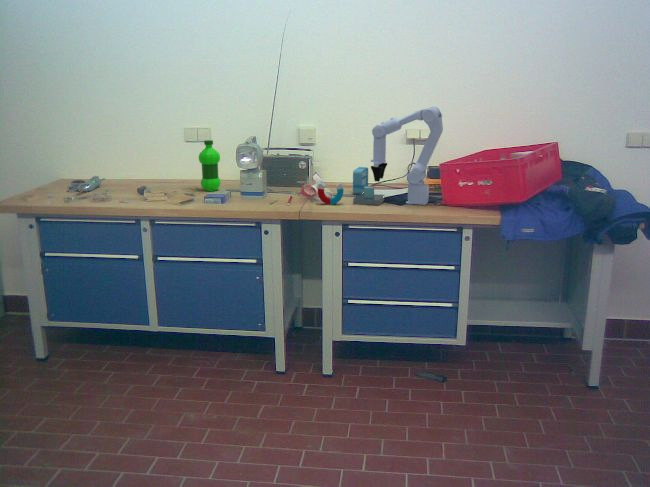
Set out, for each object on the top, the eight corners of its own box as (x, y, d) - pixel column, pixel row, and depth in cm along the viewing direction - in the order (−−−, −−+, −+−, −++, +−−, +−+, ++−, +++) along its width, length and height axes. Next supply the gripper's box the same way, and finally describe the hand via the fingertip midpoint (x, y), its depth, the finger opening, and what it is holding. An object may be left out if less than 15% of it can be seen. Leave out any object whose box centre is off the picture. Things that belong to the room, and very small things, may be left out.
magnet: (343, 203, 301) (343, 182, 298) (343, 205, 298) (343, 183, 295) (318, 203, 301) (318, 182, 299) (317, 204, 299) (317, 183, 296)
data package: (361, 195, 318) (361, 170, 315) (352, 194, 320) (352, 170, 316) (368, 190, 329) (368, 166, 326) (359, 189, 331) (359, 166, 327)
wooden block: (374, 196, 304) (374, 186, 303) (372, 197, 300) (372, 188, 299) (365, 195, 305) (365, 186, 304) (363, 197, 302) (363, 187, 300)
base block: (384, 200, 307) (384, 195, 307) (378, 205, 296) (378, 200, 296) (359, 198, 311) (359, 193, 310) (353, 204, 300) (353, 198, 299)
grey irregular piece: (79, 186, 346) (107, 184, 344) (52, 202, 320) (83, 199, 318) (76, 175, 344) (104, 173, 342) (49, 190, 318) (80, 188, 316)
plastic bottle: (222, 191, 327) (220, 141, 320) (201, 192, 324) (198, 142, 317) (220, 187, 336) (218, 139, 329) (200, 188, 334) (197, 139, 327)
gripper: (374, 148, 310) (373, 176, 314) (367, 152, 297) (367, 182, 301) (389, 149, 308) (388, 177, 312) (382, 153, 295) (382, 183, 299)
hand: (378, 179), depth 306 cm, fingers open, 7 cm apart
